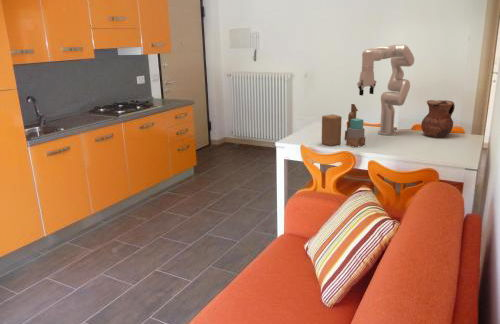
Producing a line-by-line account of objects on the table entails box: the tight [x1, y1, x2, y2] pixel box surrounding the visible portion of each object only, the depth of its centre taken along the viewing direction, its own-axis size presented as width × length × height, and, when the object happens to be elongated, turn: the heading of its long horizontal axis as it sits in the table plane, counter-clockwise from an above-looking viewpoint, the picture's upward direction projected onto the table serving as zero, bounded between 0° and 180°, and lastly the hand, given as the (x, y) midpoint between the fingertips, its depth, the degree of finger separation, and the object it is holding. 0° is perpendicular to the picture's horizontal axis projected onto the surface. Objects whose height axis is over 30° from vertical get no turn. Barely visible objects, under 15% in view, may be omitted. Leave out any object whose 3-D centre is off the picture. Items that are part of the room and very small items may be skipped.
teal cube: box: [350, 118, 364, 130], centre depth 277 cm, size 6×6×6 cm
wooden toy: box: [344, 103, 364, 140], centre depth 297 cm, size 16×7×25 cm, turn 138°
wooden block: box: [321, 114, 342, 147], centre depth 284 cm, size 10×10×20 cm
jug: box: [421, 99, 455, 138], centre depth 296 cm, size 22×21×25 cm
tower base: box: [345, 136, 366, 148], centre depth 280 cm, size 9×9×6 cm
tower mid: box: [346, 127, 366, 139], centre depth 279 cm, size 8×8×6 cm
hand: (366, 94), depth 280 cm, fingers open, 9 cm apart
